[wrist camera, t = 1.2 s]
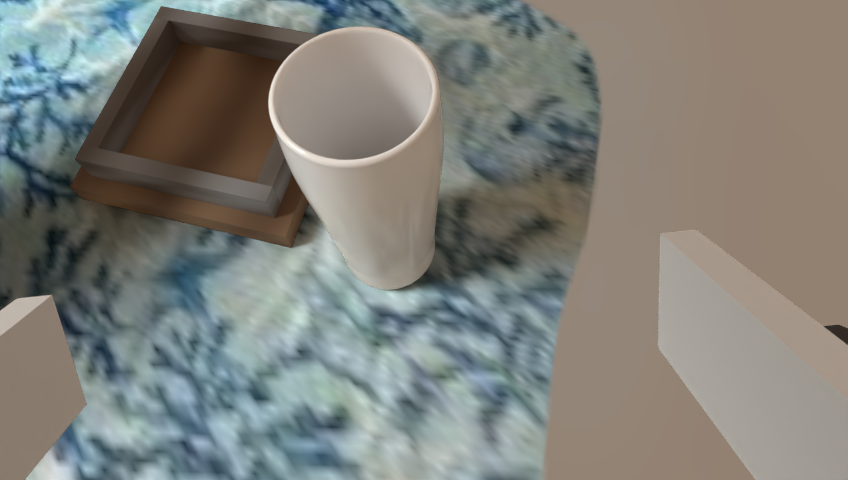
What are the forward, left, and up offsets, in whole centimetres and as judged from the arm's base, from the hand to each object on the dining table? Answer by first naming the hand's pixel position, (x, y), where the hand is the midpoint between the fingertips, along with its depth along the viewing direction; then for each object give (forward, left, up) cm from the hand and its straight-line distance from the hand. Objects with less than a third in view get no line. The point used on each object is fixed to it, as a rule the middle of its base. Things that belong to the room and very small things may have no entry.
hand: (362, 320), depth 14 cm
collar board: (-17, +16, -22) cm, 32 cm away
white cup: (-5, +10, -22) cm, 25 cm away
